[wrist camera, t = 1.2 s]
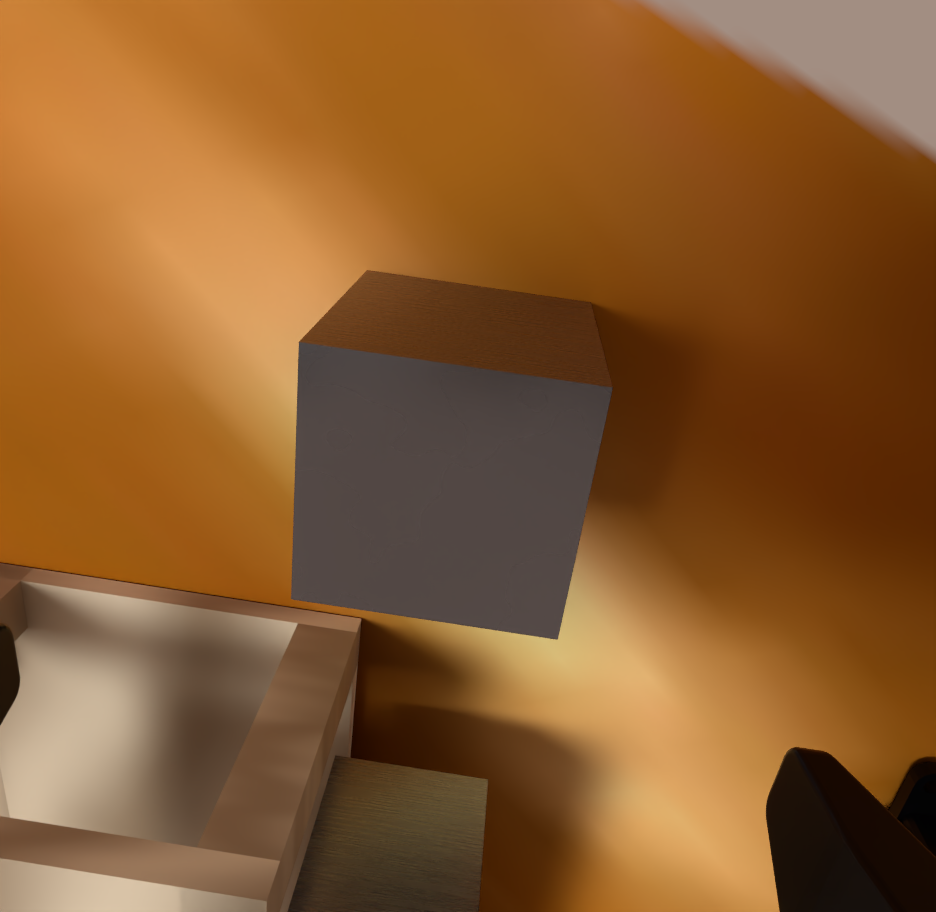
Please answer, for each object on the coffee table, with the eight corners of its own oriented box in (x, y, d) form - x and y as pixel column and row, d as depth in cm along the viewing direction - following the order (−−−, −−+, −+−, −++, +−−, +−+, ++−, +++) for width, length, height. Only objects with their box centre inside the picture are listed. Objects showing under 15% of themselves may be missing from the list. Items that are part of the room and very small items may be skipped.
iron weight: (590, 301, 17) (613, 387, 12) (552, 498, 19) (557, 639, 14) (367, 269, 17) (299, 342, 12) (354, 469, 19) (291, 598, 14)
